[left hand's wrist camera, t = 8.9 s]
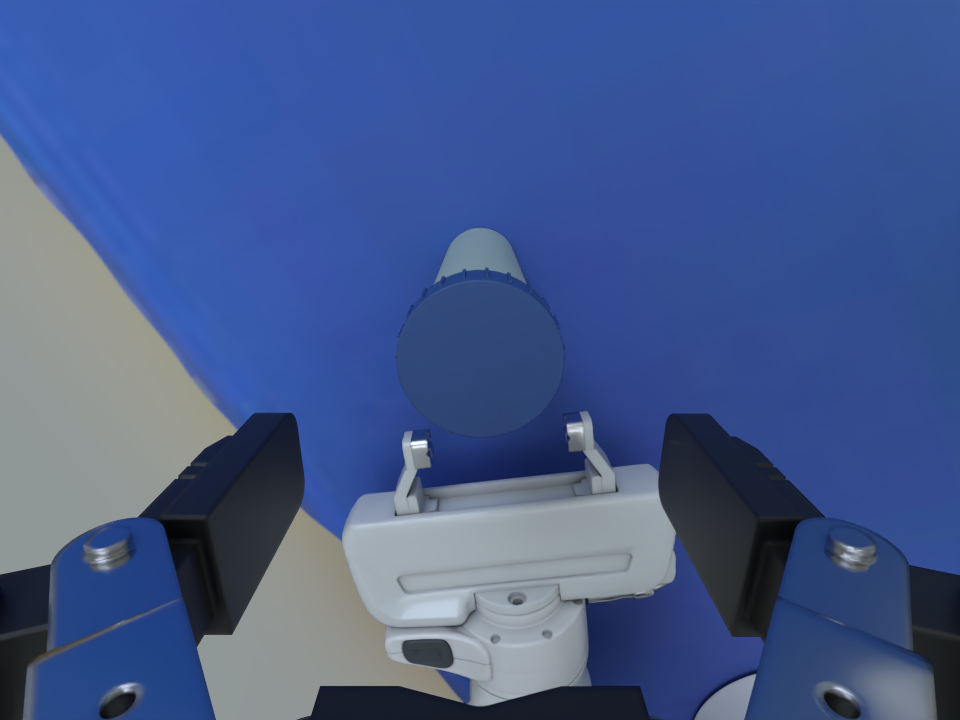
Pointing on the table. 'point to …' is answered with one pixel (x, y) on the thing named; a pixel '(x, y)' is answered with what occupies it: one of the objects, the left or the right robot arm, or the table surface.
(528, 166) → the table surface
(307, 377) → the table surface
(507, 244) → the jar
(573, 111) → the table surface
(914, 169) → the table surface
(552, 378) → the lid
